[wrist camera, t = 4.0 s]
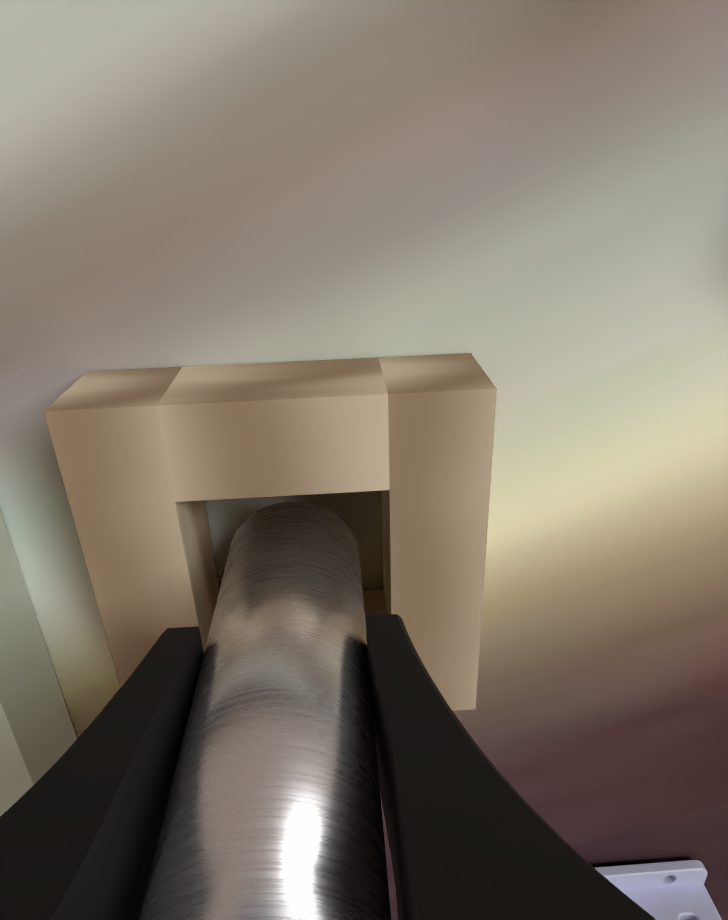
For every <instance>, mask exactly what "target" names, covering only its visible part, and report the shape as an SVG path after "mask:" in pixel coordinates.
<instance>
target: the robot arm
mask: <svg viewBox="0 0 728 920" xmlns="http://www.w3.org/2000/svg"><path fill="white" fill-rule="evenodd" d="M366 636H367V653H368V665H369V677H370V687H371V695H372V705H373V716H374V728H375V739H376V751H377V762H378V774H379V785H380V792H381V798H382V804H383V810H384V816H385V822H386V828H387V834H388V840H389V846H390V851H391V857H392V864H393V872H394V879H395V887H396V898H397V910H398V920H722V919H721V917H720V915H719V913H718V911H717V909H716V907H715V905H714V903H713V901H712V900H711V898H710V896H709V894H708V892H707V890H706V888H705V886H704V883H705V880H706V877H707V871H706V869H705V867H704V865H703V863H702V862H700V861H698V860H681V861H668V862H656V863H643V864H630V865H617V866H605V867H593V866H592V865H591V864H589V863H588V862H587V861H586V860H585V859H584V858H583V857H582V856H581V855H580V854H578V853H577V852H576V851H575V850H574V849H573V848H572V847H571V846H570V845H569V844H568V843H566V842H565V841H564V840H563V839H562V838H561V837H560V836H559V835H558V834H557V833H556V832H555V831H554V830H553V829H552V828H551V827H550V826H549V825H548V824H547V823H546V822H545V821H544V820H543V819H542V818H541V817H540V816H539V815H538V814H537V813H536V812H535V811H534V809H533V808H532V807H531V806H530V805H529V804H528V803H527V802H526V801H525V800H524V799H523V798H522V797H521V796H520V795H519V794H518V793H517V792H516V791H515V789H514V788H513V787H512V786H511V785H510V784H509V783H508V782H507V780H506V779H505V778H504V777H503V776H502V775H501V774H500V772H499V771H498V770H497V769H496V768H495V766H494V765H493V764H492V763H491V762H490V760H489V759H488V758H487V757H486V756H485V754H484V753H483V752H482V751H481V749H480V748H479V747H478V745H477V744H476V743H475V742H474V740H473V739H472V738H471V736H470V735H469V734H468V732H467V731H466V729H465V728H464V727H463V725H462V724H461V722H460V721H459V720H458V718H457V717H456V715H455V714H454V713H453V711H452V710H451V708H450V707H449V705H448V704H447V702H446V701H445V699H444V698H443V696H442V694H441V693H440V691H439V689H438V688H437V686H436V685H435V683H434V681H433V680H432V678H431V677H430V675H429V673H428V671H427V670H426V668H425V666H424V664H423V663H422V661H421V659H420V657H419V655H418V653H417V651H416V649H415V647H414V645H413V643H412V641H411V639H410V637H409V635H408V632H407V630H406V628H405V625H404V622H403V619H402V618H401V617H400V616H399V615H397V614H389V615H372V616H366ZM203 655H204V651H203V646H202V640H201V635H200V630H199V626H195V627H178V628H167V629H166V630H165V631H164V632H163V633H162V634H161V636H160V637H159V638H158V640H157V641H156V642H155V644H154V645H153V646H152V648H151V649H150V650H149V652H148V653H147V654H146V656H145V657H144V658H143V660H142V661H141V662H140V664H139V665H138V666H137V667H136V669H135V670H134V671H133V673H132V674H131V675H130V676H129V678H128V679H127V680H126V682H125V683H124V684H123V685H122V687H121V688H120V689H119V690H118V691H117V693H116V694H115V695H114V696H113V698H112V699H111V700H110V701H109V703H108V704H107V705H106V706H105V707H104V709H103V710H102V711H101V712H100V714H99V715H98V716H97V717H96V718H95V719H94V721H93V722H92V723H91V724H90V725H89V726H88V727H87V728H86V730H85V731H84V732H83V733H82V734H81V735H80V736H79V737H78V739H77V740H76V741H75V742H74V743H73V744H72V745H71V746H70V747H69V749H68V750H67V751H66V752H65V753H64V754H63V755H62V756H61V757H60V758H59V760H58V761H57V762H56V763H55V764H54V765H53V766H52V767H51V768H50V769H49V770H48V771H47V772H46V773H45V774H44V775H43V776H42V777H41V778H40V779H39V780H38V781H37V782H36V783H35V784H34V785H33V786H32V787H31V788H30V789H29V790H28V791H27V792H26V793H25V794H24V795H23V796H22V797H21V798H20V799H19V800H18V801H17V802H16V803H15V804H13V805H12V806H11V807H10V808H9V809H8V810H7V811H6V812H5V813H4V814H3V815H1V816H0V920H139V917H140V913H141V909H142V905H143V900H144V896H145V892H146V888H147V884H148V880H149V876H150V872H151V868H152V864H153V860H154V856H155V851H156V847H157V843H158V839H159V835H160V831H161V827H162V823H163V819H164V815H165V811H166V806H167V802H168V798H169V794H170V790H171V786H172V782H173V778H174V774H175V770H176V766H177V762H178V757H179V753H180V749H181V745H182V741H183V737H184V733H185V729H186V725H187V721H188V717H189V712H190V708H191V704H192V700H193V696H194V692H195V688H196V684H197V680H198V676H199V672H200V668H201V663H202V659H203Z"/></svg>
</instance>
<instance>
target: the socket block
mask: <svg viewBox="0 0 728 920" xmlns="http://www.w3.org/2000/svg"><path fill="white" fill-rule="evenodd" d="M496 391H497V389H496V387H495V386H494V384H493V383H492V382H491V380H490V379H489V378H488V376H487V375H486V373H485V372H484V371H483V369H482V368H481V367H480V365H479V364H478V363H477V361H476V360H475V358H474V357H473V356H472V354H471V353H464V354H443V355H422V356H401V357H380V358H360V359H339V360H318V361H297V362H276V363H255V364H234V365H213V366H192V367H171V368H150V369H129V370H108V371H87V372H86V373H85V374H84V375H83V376H82V377H80V378H79V379H78V380H77V381H76V382H75V383H74V384H73V385H72V386H71V387H70V388H68V389H67V390H66V391H65V392H64V393H63V394H62V395H61V396H60V397H59V398H57V399H56V400H55V401H54V402H53V403H52V404H51V405H50V406H49V407H48V408H47V409H45V410H44V415H45V419H46V422H47V426H48V429H49V433H50V437H51V440H52V444H53V447H54V451H55V454H56V458H57V462H58V465H59V469H60V472H61V476H62V480H63V483H64V487H65V490H66V494H67V497H68V501H69V505H70V508H71V512H72V515H73V519H74V523H75V526H76V530H77V533H78V537H79V540H80V544H81V548H82V551H83V555H84V558H85V562H86V566H87V569H88V573H89V576H90V580H91V583H92V587H93V591H94V594H95V598H96V601H97V605H98V609H99V612H100V616H101V619H102V623H103V626H104V630H105V634H106V637H107V641H108V644H109V648H110V651H111V655H112V659H113V662H114V666H115V669H116V673H117V677H118V680H119V684H120V687H122V685H123V684H124V683H125V682H126V680H127V679H128V678H129V676H130V675H131V674H132V673H133V671H134V670H135V669H136V667H137V666H138V665H139V664H140V662H141V661H142V660H143V658H144V657H145V656H146V654H147V653H148V652H149V650H150V649H151V648H152V646H153V645H154V644H155V642H156V641H157V640H158V638H159V637H160V636H161V634H162V633H163V632H164V631H165V630H166V629H167V628H178V627H195V626H199V630H200V635H201V640H202V646H203V651H205V647H206V643H207V639H208V635H209V631H210V627H211V623H212V618H213V614H214V610H215V606H216V602H217V598H218V594H219V590H220V589H219V583H218V577H217V571H216V565H215V559H214V553H213V547H212V541H211V535H210V529H209V523H208V517H207V511H206V505H205V500H220V499H237V498H255V497H273V496H291V495H309V494H327V493H345V492H363V491H381V495H382V539H383V584H384V589H373V590H363V600H364V612H365V624H366V616H372V615H389V614H397V615H399V616H400V617H401V618H402V619H403V622H404V625H405V628H406V630H407V632H408V635H409V637H410V639H411V641H412V643H413V645H414V647H415V649H416V651H417V653H418V655H419V657H420V659H421V661H422V663H423V664H424V666H425V668H426V670H427V671H428V673H429V675H430V677H431V678H432V680H433V681H434V683H435V685H436V686H437V688H438V689H439V691H440V693H441V694H442V696H443V698H444V699H445V701H446V702H447V704H448V705H449V707H450V708H451V710H452V711H456V710H471V709H476V694H477V679H478V664H479V649H480V634H481V619H482V603H483V588H484V573H485V558H486V543H487V527H488V512H489V497H490V482H491V467H492V452H493V436H494V421H495V406H496Z"/></svg>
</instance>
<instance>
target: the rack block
mask: <svg viewBox="0 0 728 920" xmlns="http://www.w3.org/2000/svg"><path fill="white" fill-rule="evenodd" d="M76 740H77V737H76V734H75V731H74V728H73V725H72V722H71V719H70V716H69V713H68V710H67V707H66V704H65V701H64V698H63V695H62V692H61V690H60V687H59V684H58V681H57V678H56V675H55V672H54V669H53V666H52V663H51V660H50V657H49V654H48V651H47V648H46V645H45V642H44V639H43V636H42V633H41V630H40V627H39V624H38V621H37V619H36V616H35V613H34V610H33V607H32V604H31V601H30V598H29V595H28V592H27V589H26V586H25V583H24V580H23V577H22V574H21V571H20V568H19V565H18V562H17V559H16V556H15V553H14V550H13V547H12V545H11V542H10V539H9V536H8V533H7V530H6V527H5V524H4V521H3V518H2V515H1V512H0V816H1V815H3V814H4V813H5V812H6V811H7V810H8V809H9V808H10V807H11V806H12V805H13V804H15V803H16V802H17V801H18V800H19V799H20V798H21V797H22V796H23V795H24V794H25V793H26V792H27V791H28V790H29V789H30V788H31V787H32V786H33V785H34V784H35V783H36V782H37V781H38V780H39V779H40V778H41V777H42V776H43V775H44V774H45V773H46V772H47V771H48V770H49V769H50V768H51V767H52V766H53V765H54V764H55V763H56V762H57V761H58V760H59V758H60V757H61V756H62V755H63V754H64V753H65V752H66V751H67V750H68V749H69V747H70V746H71V745H72V744H73V743H74V742H75V741H76Z"/></svg>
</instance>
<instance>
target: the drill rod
mask: <svg viewBox="0 0 728 920" xmlns="http://www.w3.org/2000/svg"><path fill="white" fill-rule="evenodd" d="M139 920H391V913H390V901H389V890H388V878H387V866H386V855H385V843H384V832H383V820H382V809H381V797H380V785H379V774H378V762H377V751H376V739H375V728H374V716H373V705H372V695H371V687H370V677H369V665H368V653H367V636H366V624H365V612H364V600H363V589H362V577H361V566H360V554H359V547H358V543H357V540H356V538H355V536H354V534H353V532H352V530H351V529H350V527H349V526H348V525H347V524H346V523H345V522H344V521H343V520H342V519H341V518H340V517H339V516H337V515H336V514H334V513H333V512H331V511H329V510H327V509H325V508H323V507H320V506H317V505H314V504H310V503H303V502H284V503H278V504H274V505H270V506H267V507H265V508H262V509H261V510H259V511H257V512H255V513H254V514H252V515H251V516H249V517H248V518H247V519H246V520H245V521H244V522H243V523H242V524H241V525H240V526H239V527H238V529H237V531H236V532H235V534H234V536H233V539H232V541H231V545H230V549H229V553H228V557H227V561H226V565H225V569H224V574H223V578H222V582H221V586H220V590H219V594H218V598H217V602H216V606H215V610H214V614H213V618H212V623H211V627H210V631H209V635H208V639H207V643H206V647H205V651H204V655H203V659H202V663H201V668H200V672H199V676H198V680H197V684H196V688H195V692H194V696H193V700H192V704H191V708H190V712H189V717H188V721H187V725H186V729H185V733H184V737H183V741H182V745H181V749H180V753H179V757H178V762H177V766H176V770H175V774H174V778H173V782H172V786H171V790H170V794H169V798H168V802H167V806H166V811H165V815H164V819H163V823H162V827H161V831H160V835H159V839H158V843H157V847H156V851H155V856H154V860H153V864H152V868H151V872H150V876H149V880H148V884H147V888H146V892H145V896H144V900H143V905H142V909H141V913H140V917H139Z"/></svg>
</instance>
